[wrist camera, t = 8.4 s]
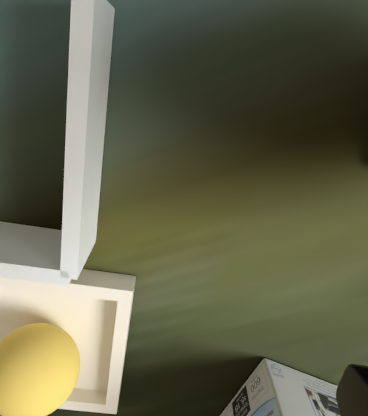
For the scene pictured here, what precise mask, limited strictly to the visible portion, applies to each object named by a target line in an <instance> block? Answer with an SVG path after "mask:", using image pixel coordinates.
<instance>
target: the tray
mask: <svg viewBox="0 0 368 416" xmlns="http://www.w3.org/2000/svg"><path fill="white" fill-rule="evenodd" d="M135 281H136V276H133V275H126V274H118V273H111V272H103V271H96V270H88V269H82V271H81V273H80V275H79V277H78V279H77V280H74V279H71V281H70V283H69V285H68V286H66V285H58V284H50V283H42V282H34V281H27V280H19V279H11V278H3V277H0V341H1V340H2V339H3V338H4V337H5V336H6V335H8V334H9V333H10V332H12V331H14V330H16V329H17V328H20V327H22V326H25V325H29V324H33V323H47V324H52V325H55V326H57V327H60V328H61V329H63V330H64V331H66V332H67V333H68V334H69V335H70V336H71V337H72V339H73V340H74V342H75V343H76V345H77V348H78V351H79V355H80V372H79V377H78V380H77V383H76V385H75V387H74V389H73V391H72V393H71V394H70V396H69V397H68V398H67V400H66V401H65V402H64V403H63V404H62V405H61V406H60V407H59V408H58V409H67V410H77V411H87V412H97V413H107V414H117V408H118V403H119V397H120V391H121V384H122V376H123V369H124V362H125V354H126V347H127V340H128V333H129V325H130V318H131V311H132V303H133V296H134V289H135Z"/></svg>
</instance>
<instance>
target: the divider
mask: <svg viewBox="0 0 368 416" xmlns="http://www.w3.org/2000/svg"><path fill="white" fill-rule="evenodd" d="M114 14H115V8H114V7H113V6H112V5H111V4H110V3H109V2H108V1H107V0H71V16H70V41H69V66H68V90H67V115H66V140H65V164H64V189H63V213H62V230H57V229H50V228H43V227H36V226H29V225H22V224H15V223H8V222H1V221H0V277H3V278H11V279H19V280H27V281H34V282H42V283H50V284H58V285H66V286H68V285H69V283H70V281H71V279H74V280H77V279H78V277H79V275H80V273H81V271H82V269H83V267H84V264H85V262H86V260H87V258H88V256H89V254H90V252H91V250H92V248H93V246H94V244H95V242H96V233H97V221H98V209H99V196H100V184H101V172H102V160H103V148H104V136H105V124H106V111H107V99H108V87H109V75H110V63H111V51H112V38H113V26H114Z"/></svg>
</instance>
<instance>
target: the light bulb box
mask: <svg viewBox="0 0 368 416" xmlns="http://www.w3.org/2000/svg"><path fill="white" fill-rule="evenodd" d="M337 387H338V386H336V385H334V384H331V383H328V382H326V381H323V380H321V379H318V378H315V377H313V376H310V375H308V374H305V373H303V372H300V371H297V370H295V369H292V368H290V367H287V366H284V365H282V364H279V363H277V362H274V361H272V360H269V359H266V358H264V359H263V360H262V361H261V362H260V364H259V365H258V366H257V368H256V369H255V370H254V371H253V373H252V374H251V376H250V377H249V378H248V379H247V381H246V382H245V383H244V385H243V386H242V387H241V388H240V390H239V391H238V392H237V394H236V395H235V396H234V398H233V399H232V400H231V402H230V403H229V404H228V406H227V407H226V408H225V409H224V411H223V412H222V413H221V415H220V416H341V415H340V412H339V408H338V404H337V400H336V390H337Z"/></svg>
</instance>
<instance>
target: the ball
mask: <svg viewBox="0 0 368 416" xmlns="http://www.w3.org/2000/svg"><path fill="white" fill-rule="evenodd" d="M79 372H80V355H79V351H78V348H77V345H76V343H75V342H74V340H73V339H72V337H71V336H70V335H69V334H68V333H67V332H66V331H64V330H63V329H61V328H60V327H57V326H55V325H52V324H47V323H33V324H29V325H25V326H22V327H20V328H17V329H16V330H14V331H12V332H10V333H9V334H8V335H6V336H5V337H4V338H3V339H2V340H1V341H0V415H2V416H47V415H48V414H50V413H52V412H53V411H55V410H56V409H58V408H59V407H60V406H61V405H62V404H63V403H64V402H65V401H66V400H67V398H68V397H69V396H70V394H71V393H72V391H73V389H74V387H75V385H76V383H77V380H78V377H79Z"/></svg>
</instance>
